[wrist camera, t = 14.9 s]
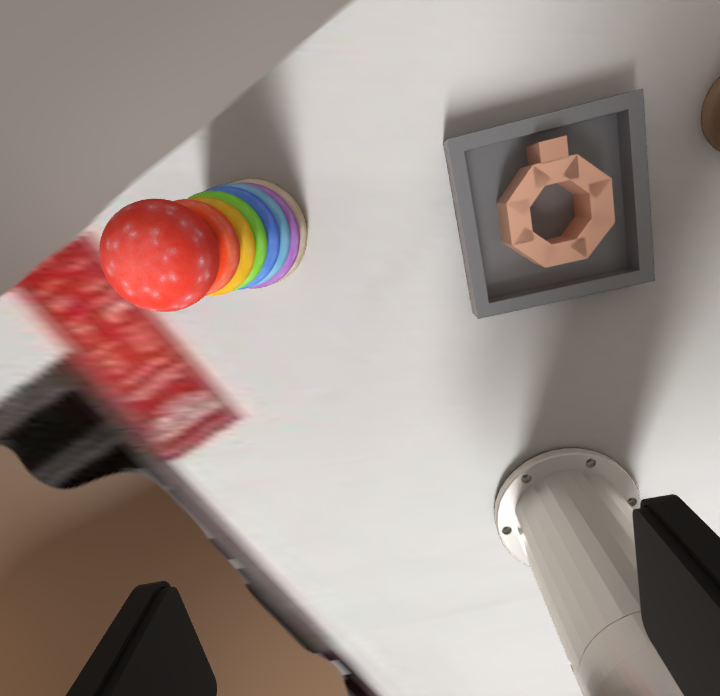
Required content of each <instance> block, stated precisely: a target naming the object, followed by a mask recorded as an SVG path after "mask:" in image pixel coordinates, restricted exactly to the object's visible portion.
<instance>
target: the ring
mask: <svg viewBox="0 0 720 696" xmlns="http://www.w3.org/2000/svg"><path fill="white" fill-rule="evenodd" d="M526 155H527V162H528V166H526V167H522V168H520V169H519V171H518V172H517V173H516V175H515V176H514V178H513V179H512V181H511V182H510V184H509V185H508V187H507V188H506V190H505V191H504V193H503V194H502V196H501V197H500V198H499V200H498V201H497V203H496V205H497V212H498V219H499V225H500V232H501V239H502V242H503V243H504V244H506V245H507V246H509V247H510V248H512V249H513V250H515V251H516V252H518V253H519V254H521V255H522V256H524V257H525V258H527V259H528V260H530V261H531V262H533V263H535V264H538V265H540V266H543V267H545V268H546V267H551V266H555V265H560V264H564V263H569V262H573V261H578V260H583V259H587V258H588V257H589V256H590V254H591V253H592V252H593V250H594V249H595V248H596V246H597V245H598V244H599V243H600V241H601V240H602V239H603V237H604V236H605V235H606V233H607V232H608V231H609V230H610V228H611V227H612V226H613V224H614V223H615V214H614V202H613V189H612V178H610V177H609V176H607V175H606V174H605V173H603V172H602V171H600V170H599V169H598V168H596V167H595V166H593V165H592V164H590V163H589V162H588V161H586V160H585V159H583V158H582V157H581V156H579V155H578V154H575V155H571V156H569V154H568V144H567V135H566V136H562V137H558V138H554V139H550V140H546V141H542V142H538V143H536V144H533V145H530V146H527V147H526ZM554 183H557V184H559V185H560V186H562V187H563V188H565V189H566V190H568V191H569V192H570V193H572V194H573V203H574V213H575V217H574V219H573V220H572V221H571V223H570V224H569V225H568V227H567V228H566V229H565V231H564V232H563V234H562V235H561V236H559V237H554V238H550V239H546V240H544V239H543V238H541V237H540V236H538V235H537V234H535V233H534V232H533V229H532V221H531V214H530V206H531V205H532V204H533V202H534V201H535V199H536V198H537V196H538V195H539V194H540V192H541V191H542V189H543V188H544V186H546V185H550V184H554Z"/></svg>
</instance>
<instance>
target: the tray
mask: <svg viewBox="0 0 720 696" xmlns="http://www.w3.org/2000/svg"><path fill="white" fill-rule="evenodd" d="M566 135H567V144H568V154H569V156H571V155H575V154H578V155H579V156H581V157H582V158H583V159H585V160H586V161H588V162H589V163H590V164H592V165H593V166H595V167H596V168H598V169H599V170H600V171H602V172H603V173H605V174H606V175H607V176H609V177H610V178H612V189H613V202H614V214H615V223H614V224H613V226H612V227H611V228H610V230H609V231H608V232H607V233H606V235H605V236H604V237H603V239H602V240H601V241H600V243H599V244H598V245H597V246H596V248H595V249H594V250H593V252H592V253H591V254H590V256H589V257H588V258H587V259H583V260H578V261H573V262H569V263H564V264H560V265H555V266H551V267H546V268H545V267H543V266H540V265H538V264H535V263H533V262H531V261H530V260H528V259H527V258H525V257H524V256H522V255H521V254H519V253H518V252H516V251H515V250H513V249H512V248H510V247H509V246H507V245H506V244H504V243H503V242H502V239H501V232H500V225H499V219H498V212H497V205H496V203H497V201H498V200H499V198H500V197H501V196H502V194H503V193H504V191H505V190H506V188H507V187H508V185H509V184H510V182H511V181H512V179H513V178H514V176H515V175H516V173H517V172H518V171H519V169H520V168H522V167H526V166H528V162H527V155H526V147H527V146H530V145H533V144H536V143H538V142H542V141H546V140H550V139H554V138H558V137H562V136H566ZM443 145H444V151H445V157H446V162H447V168H448V174H449V179H450V185H451V191H452V197H453V202H454V208H455V214H456V220H457V225H458V231H459V237H460V242H461V248H462V254H463V260H464V265H465V271H466V277H467V283H468V288H469V294H470V300H471V306H472V311H473V313H474V315H475V316H476V317H477V318H478V319H480V318H484V317H489V316H494V315H498V314H503V313H508V312H512V311H517V310H521V309H526V308H531V307H535V306H540V305H544V304H549V303H554V302H558V301H563V300H567V299H572V298H577V297H581V296H586V295H591V294H595V293H600V292H604V291H609V290H614V289H618V288H623V287H627V286H632V285H637V284H641V283H646V282H650V281H655V274H654V258H653V242H652V226H651V210H650V193H649V177H648V161H647V145H646V129H645V113H644V97H643V89H640V90H636V91H632V92H628V93H624V94H620V95H616V96H613V97H609V98H605V99H601V100H597V101H593V102H589V103H585V104H582V105H578V106H574V107H570V108H566V109H562V110H558V111H555V112H551V113H547V114H543V115H539V116H535V117H531V118H527V119H524V120H520V121H516V122H512V123H508V124H504V125H500V126H497V127H493V128H489V129H485V130H481V131H477V132H473V133H470V134H466V135H462V136H458V137H454V138H450V139H447V140H446V141H445V142H444V143H443ZM530 214H531V221H532V229H533V232H534V233H535V234H537V235H538V236H540V237H541V238H543V239H544V240H546V239H550V238H554V237H559V236H561V235H562V234H563V232H564V231H565V229H566V228H567V227H568V225H569V224H570V223H571V221H572V220H573V219H574V217H575V213H574V203H573V194H572V193H570V192H569V191H568V190H566V189H565V188H563V187H562V186H560V185H559V184H557V183H554V184H550V185H546V186H544V188H543V189H542V191H541V192H540V194H539V195H538V196H537V198H536V199H535V201H534V202H533V204H532V205H531V206H530Z"/></svg>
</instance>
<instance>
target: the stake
mask: <svg viewBox="0 0 720 696" xmlns="http://www.w3.org/2000/svg"><path fill="white" fill-rule="evenodd" d="M701 124H702V130H703V133H704V135H705V137H706V139H707V141H708V142H709V143H710V144H711V145H712V146H713V147H714V148H715V149H717V150H718V151H720V77H719V78H718V79H717V80H716V82H715V83H714V84H713V86H712V87H711V88H710V90H709V92H708V94H707V96H706V98H705V101H704V103H703V107H702V113H701Z"/></svg>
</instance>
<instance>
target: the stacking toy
mask: <svg viewBox="0 0 720 696" xmlns="http://www.w3.org/2000/svg"><path fill="white" fill-rule="evenodd" d="M306 245H307V227H306V222H305V219H304V216H303V214H302V211H301V209H300V208H299V206H298V204H297V203H296V202H295V200H294V199H293V198H292V197H291V196H290V195H289V194H288V193H287V192H286V191H285V190H283V189H282V188H281V187H279V186H277V185H276V184H273V183H271V182H268V181H265V180H260V179H242V180H237V181H234V182H232V183H230V184H224V185H220V186H217V187H214V188H211V189H208V190H206V191H204V192H201V193H197V194H195V195H193V196H191V197H189V198H188V199H182V200H176V201H170V200H164V199H146V200H141V201H138V202H134V203H132V204H129V205H127V206H125V207H124V208H122V209H121V210H120V211H118V212H117V213H116V214H115V215H114V216H113V217H112V218H111V219H110V221H109V222H108V223H107V225H106V227H105V229H104V231H103V233H102V236H101V241H100V249H99V254H100V262H101V266H102V269H103V272H104V274H105V276H106V278H107V280H108V282H109V283H110V285H111V286H112V287H113V288H114V290H115V291H116V292H117V293H118V294H119V295H121V296H122V297H123V298H124V299H126V300H127V301H129V302H130V303H132V304H134V305H136V306H138V307H140V308H143V309H147V310H151V311H160V312H169V311H177V310H180V309H184V308H187V307H189V306H191V305H193V304H194V303H196V302H198V301H199V300H200V299H201V298H203V297H204V296H205V295H206V296H216V295H222V294H225V293H228V292H231V291H235V290H240V289H245V288H261V287H265V286H268V285H271V284H274V283H277V282H279V281H281V280H283V279H284V278H286V277H287V276H289V275H290V274H291V273H292V272H293V271H294V270H295V269H296V268H297V267H298V265H299V264H300V262H301V260H302V258H303V256H304V253H305V250H306Z"/></svg>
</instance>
